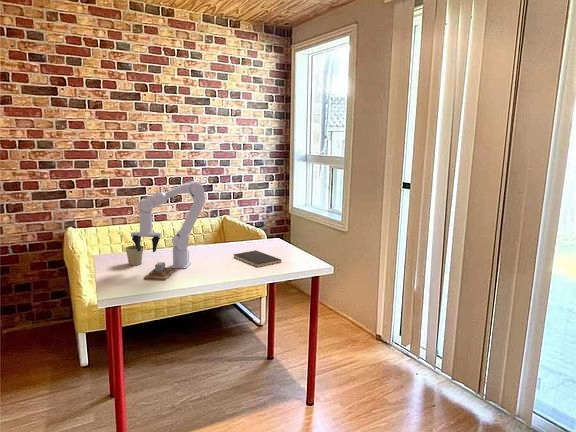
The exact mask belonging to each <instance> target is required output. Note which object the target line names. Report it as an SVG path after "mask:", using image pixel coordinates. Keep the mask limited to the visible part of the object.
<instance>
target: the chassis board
mask: <svg viewBox="0 0 576 432" xmlns="http://www.w3.org/2000/svg"><path fill="white" fill-rule="evenodd" d="M175 272H176V268H170V267H165V271H164V272H162V273H161V272H155V268H153V269H152V270H151V271H150V272H149V273H147V274H146V275H145V276H144V277H143V279H144V280H147V281H148V280H149V281H167V279H169V278H170V277H171V276H172V275H173V274H174V273H175Z"/></svg>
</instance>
